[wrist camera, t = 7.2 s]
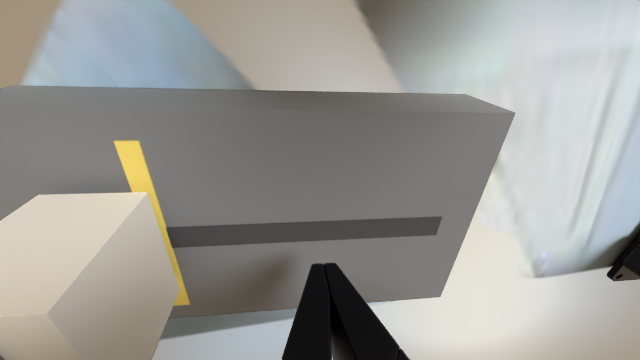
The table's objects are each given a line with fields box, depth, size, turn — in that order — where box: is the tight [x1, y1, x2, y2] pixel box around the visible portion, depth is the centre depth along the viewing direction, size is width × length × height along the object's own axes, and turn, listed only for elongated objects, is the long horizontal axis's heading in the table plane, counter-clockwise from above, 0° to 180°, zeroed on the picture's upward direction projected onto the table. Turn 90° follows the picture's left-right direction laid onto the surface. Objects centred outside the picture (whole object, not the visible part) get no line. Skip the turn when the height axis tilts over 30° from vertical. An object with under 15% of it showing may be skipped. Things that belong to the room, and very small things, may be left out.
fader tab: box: [0, 192, 180, 360], centre depth 8 cm, size 3×5×4 cm, turn 177°
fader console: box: [0, 86, 515, 318], centre depth 12 cm, size 18×10×3 cm, turn 87°
